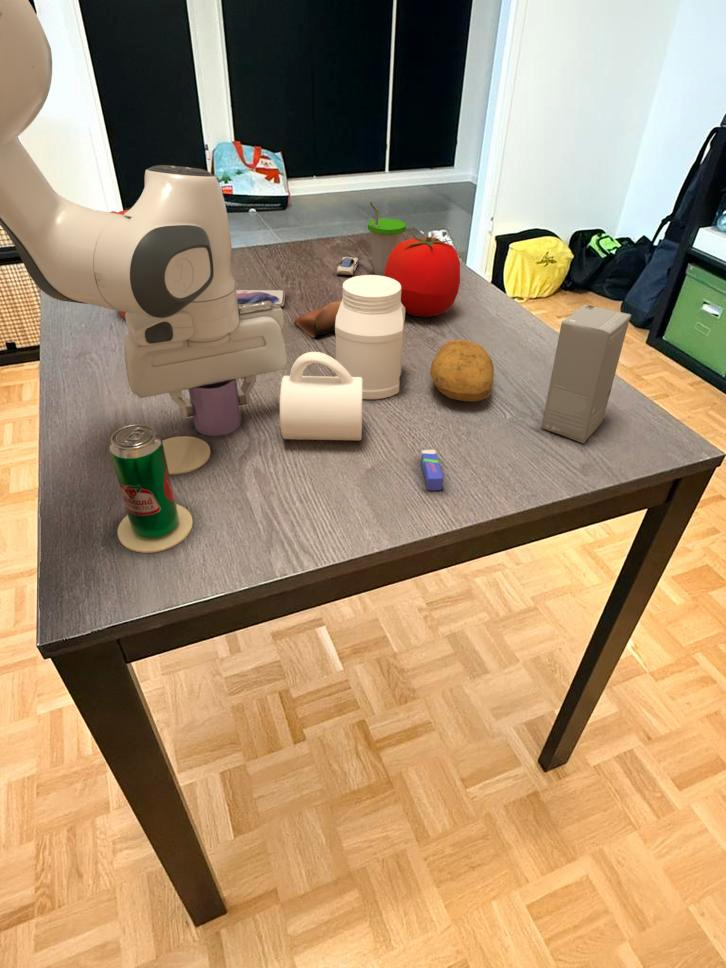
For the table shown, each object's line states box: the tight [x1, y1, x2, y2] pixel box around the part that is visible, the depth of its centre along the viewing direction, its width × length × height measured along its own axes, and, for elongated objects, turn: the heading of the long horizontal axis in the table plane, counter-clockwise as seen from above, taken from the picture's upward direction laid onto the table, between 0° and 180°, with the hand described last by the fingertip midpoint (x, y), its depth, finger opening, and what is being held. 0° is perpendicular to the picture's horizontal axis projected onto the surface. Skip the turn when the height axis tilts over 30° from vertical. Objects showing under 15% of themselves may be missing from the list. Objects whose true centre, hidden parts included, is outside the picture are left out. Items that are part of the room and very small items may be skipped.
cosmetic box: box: [541, 304, 632, 444], centre depth 83 cm, size 8×7×16 cm
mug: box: [279, 351, 363, 441], centre depth 80 cm, size 8×10×12 cm
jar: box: [334, 274, 406, 400], centre depth 91 cm, size 12×10×15 cm
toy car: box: [336, 256, 359, 277], centre depth 134 cm, size 4×12×3 cm, turn 171°
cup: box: [367, 201, 407, 276], centre depth 127 cm, size 8×8×15 cm
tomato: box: [384, 236, 461, 318], centre depth 113 cm, size 16×14×14 cm
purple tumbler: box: [188, 379, 242, 437], centre depth 83 cm, size 6×6×7 cm
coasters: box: [117, 435, 212, 554], centre depth 74 cm, size 12×21×1 cm, turn 20°
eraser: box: [420, 449, 444, 491], centre depth 77 cm, size 2×6×2 cm, turn 3°
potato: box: [429, 339, 495, 402], centre depth 92 cm, size 9×13×7 cm
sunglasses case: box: [294, 298, 342, 339], centre depth 112 cm, size 18×7×7 cm, turn 127°
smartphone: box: [236, 289, 286, 308], centre depth 119 cm, size 7×1×15 cm
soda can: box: [108, 423, 179, 539], centre depth 65 cm, size 5×5×12 cm
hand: (215, 408), depth 84 cm, fingers closed on purple tumbler, 6 cm apart
